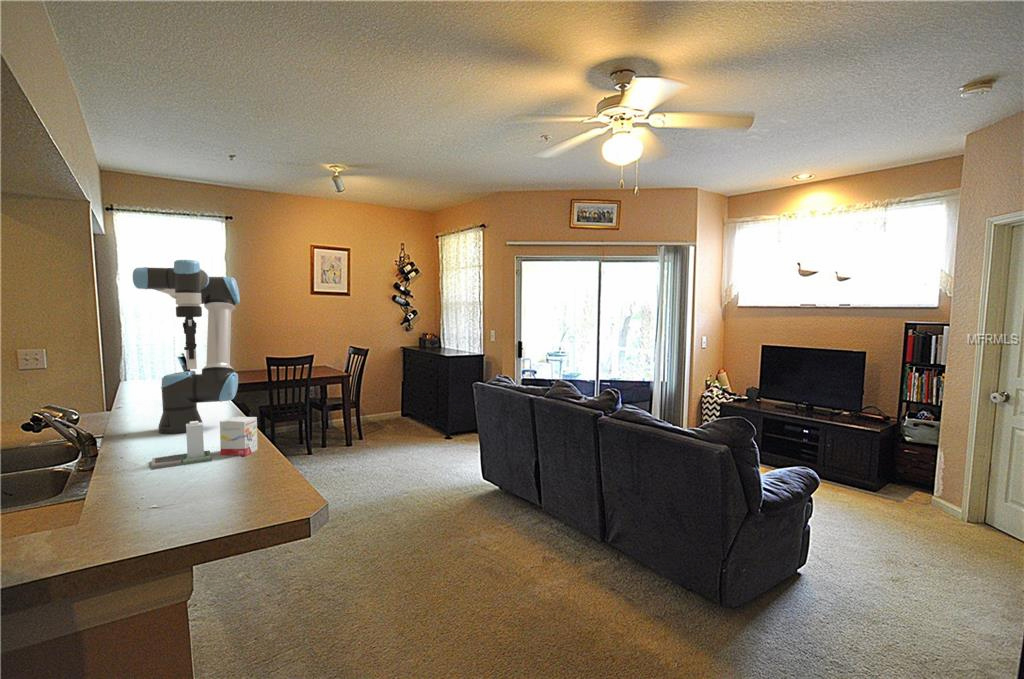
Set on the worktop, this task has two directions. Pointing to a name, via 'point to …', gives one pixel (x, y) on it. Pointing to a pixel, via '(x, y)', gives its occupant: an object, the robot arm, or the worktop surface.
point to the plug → (195, 439)
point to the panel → (178, 460)
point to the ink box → (238, 436)
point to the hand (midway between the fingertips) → (191, 367)
